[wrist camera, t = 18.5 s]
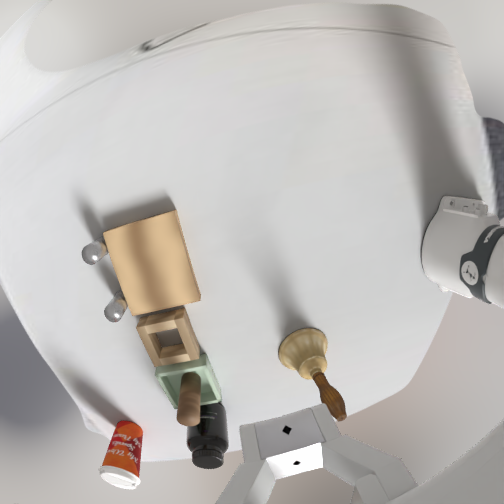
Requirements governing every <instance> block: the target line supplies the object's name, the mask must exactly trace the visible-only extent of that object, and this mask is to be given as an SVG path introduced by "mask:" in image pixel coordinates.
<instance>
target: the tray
mask: <svg viewBox="0 0 504 504" xmlns="http://www.w3.org/2000/svg"><path fill="white" fill-rule="evenodd" d="M187 372H194V373H196V374H198V375H199V376H200V378H201V397H200V405H206V404H212V403H217V402H222V397H221V389H220V386H219V384H218V381H217V379H216V377H215V374H214V372H213V369H212V367H211V364H210V362H209V359H208V357H207V354H202V355H199V359H196V360H191V361H186V362H181V363H175V364H169V365H163V366H157V368H156V372H155V376H156V377H157V379H158V381H159V383H160V385H161V386H162V388H163V390H164V392H165V394H166V395H167V397H168V399H169V400H170V402H171V404H172V405H173V407H174V409H178V402H179V393H180V385H181V378H182V375H183V374H184V373H187Z"/></svg>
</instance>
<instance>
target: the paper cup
mask: <svg viewBox="0 0 504 504" xmlns="http://www.w3.org/2000/svg"><path fill="white" fill-rule="evenodd" d="M142 436H143V431H142V429H141V427H139V426H138V425H137V424H135V423H133V422H130V421H120V422H118V424H117V426H116V428H115V431H114V434H113V436H112V439H111V442H110V444H109V447H108V450H107V453H106V456H105V459H104V462H103V465H102V466H101V467H100V468H99V471H100V475H101V476H102V478H103V479H104V480H105V481H107V482H108V483H110V484H112V485H114V486H117V487H120V488H125V489H135V488H136V487H137V486H138V485H139V484H140V479H139V471H140V459H141V447H142Z"/></svg>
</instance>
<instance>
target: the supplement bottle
mask: <svg viewBox="0 0 504 504" xmlns="http://www.w3.org/2000/svg"><path fill="white" fill-rule="evenodd" d="M187 447H188V448H189V450H190V451H191V452H192V462H193V463H194V465H195V466H197V467H200V468H204V469H214V468H218V467H220V466H222V464H223V457H224V456H223V454H224V453H225V452H226V451H227V449H228V431H227V418H226V411H225V409H224V407H223V406H222V405H220V404H219V403H212V404H206V405H200V422H199V424H197V425H195V426H188V427H187Z"/></svg>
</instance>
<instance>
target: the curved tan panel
mask: <svg viewBox="0 0 504 504" xmlns="http://www.w3.org/2000/svg"><path fill="white" fill-rule="evenodd" d="M103 235H104V239H105V242H106V245H107V248H108V252H109V255H110V258H111V261H112V264H113V267H114V269H115V272H116V275H117V278H118V281H119V283H120V286H121V289H122V291H123V294H124V296H125V299H126V301H127V304H128V306H129V309H130V311H131V314H132V316H135V315H140V314H144V313H149V312H153V311H158V310H162V309H167V308H171V307H176V306H180V305H184V304H189V303H193V302H197V301H200V298H201V294H200V291H199V287H198V284H197V281H196V278H195V274H194V271H193V268H192V264H191V261H190V257H189V254H188V250H187V247H186V243H185V240H184V236H183V232H182V229H181V225H180V221H179V218H178V214H177V210H173V211H170V212H166V213H163V214H159V215H156V216H152V217H149V218H145V219H142V220H139V221H135V222H132V223H129V224H125V225H122V226H119V227H116V228H113V229H110V230H107V231H105V232H103Z"/></svg>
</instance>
